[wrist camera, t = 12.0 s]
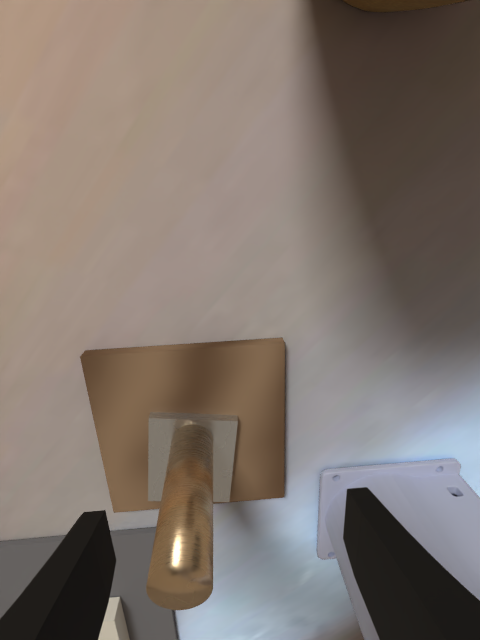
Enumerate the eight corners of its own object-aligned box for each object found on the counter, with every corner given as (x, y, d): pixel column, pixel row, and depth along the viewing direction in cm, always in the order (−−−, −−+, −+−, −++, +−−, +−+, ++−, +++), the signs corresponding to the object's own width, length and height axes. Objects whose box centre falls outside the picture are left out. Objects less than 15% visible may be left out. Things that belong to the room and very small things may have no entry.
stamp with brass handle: (150, 411, 20) (107, 558, 12) (237, 415, 20) (252, 558, 12) (149, 493, 22) (112, 666, 14) (228, 494, 22) (237, 662, 14)
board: (282, 337, 20) (284, 343, 19) (282, 487, 24) (284, 497, 23) (85, 350, 19) (80, 356, 19) (117, 502, 23) (113, 512, 22)
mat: (159, 526, 24) (158, 532, 24) (184, 681, 30) (184, 687, 30) (-52, 546, 23) (-57, 551, 23) (17, 700, 29) (14, 706, 29)
